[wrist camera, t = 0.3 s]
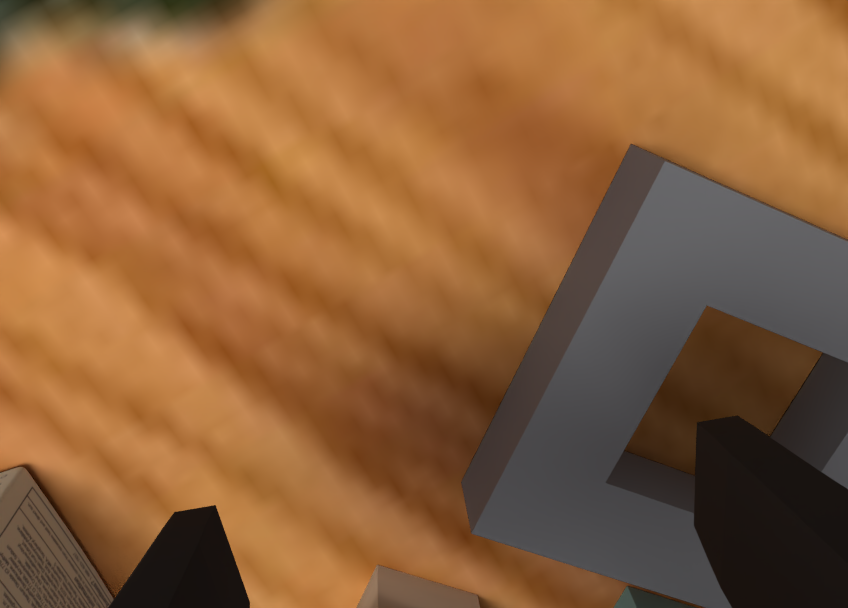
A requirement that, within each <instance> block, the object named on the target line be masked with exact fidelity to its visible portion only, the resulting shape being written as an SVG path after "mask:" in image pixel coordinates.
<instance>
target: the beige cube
mask: <svg viewBox="0 0 848 608" xmlns="http://www.w3.org/2000/svg"><path fill="white" fill-rule="evenodd" d="M357 608H480V605H479V600H478V595H476V594H473V593H470V592H466V591H463V590H460V589H456V588H453V587H450V586H446V585H443V584H440V583H436V582H433V581H430V580H426V579H423V578H420V577H416V576H413V575H410V574H406V573H403V572H400V571H396V570H393V569H390V568H386V567H383V566H380V565H377V566H376V568H375V570H374V572H373V574H372V576H371V579H370V581H369V583H368V585H367V587H366V589H365V591H364V593H363V595H362V597H361V599H360V601H359V603H358V605H357Z"/></svg>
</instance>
